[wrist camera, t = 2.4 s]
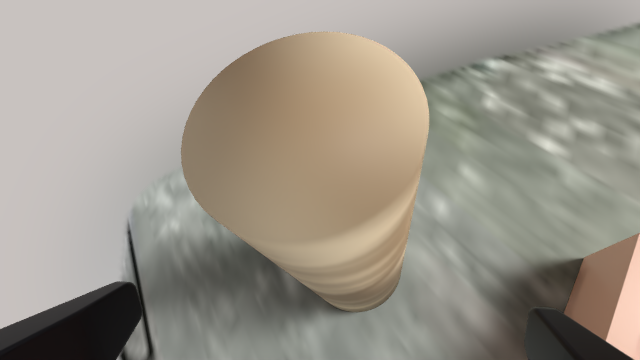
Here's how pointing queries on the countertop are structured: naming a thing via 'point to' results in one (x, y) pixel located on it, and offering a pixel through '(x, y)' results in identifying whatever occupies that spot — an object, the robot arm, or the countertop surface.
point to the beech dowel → (314, 160)
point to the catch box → (610, 295)
